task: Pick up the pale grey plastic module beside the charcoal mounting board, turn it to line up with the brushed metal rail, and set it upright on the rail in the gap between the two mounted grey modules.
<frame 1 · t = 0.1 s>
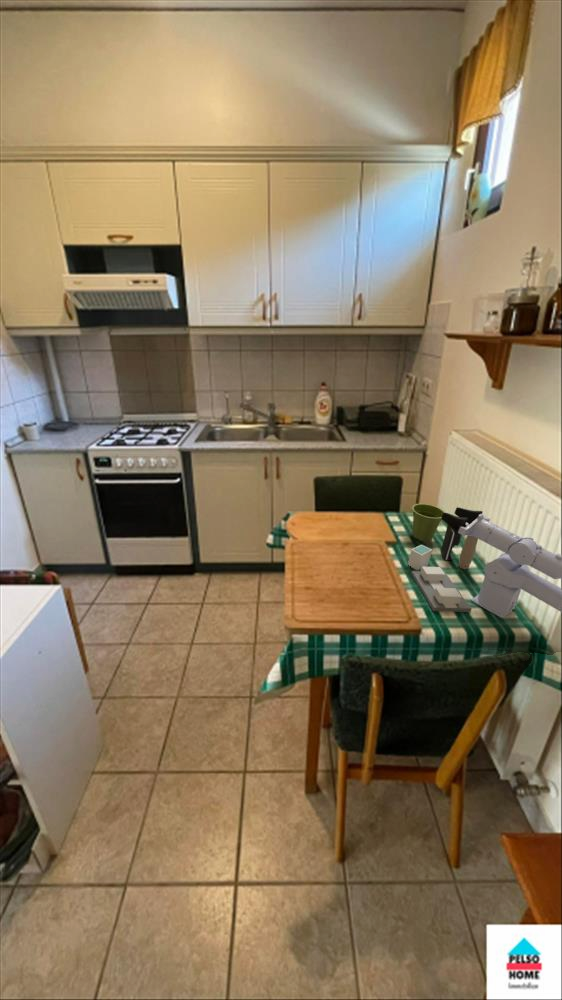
hand: (449, 512, 128), 22 cm above the table, tool horizontal, fingers open, 7 cm apart
board: (439, 591, 127), on the table
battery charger: (447, 556, 147), on the table
module: (417, 565, 140), on the table
plant pot: (421, 537, 158), on the table
handle: (463, 567, 141), on the table
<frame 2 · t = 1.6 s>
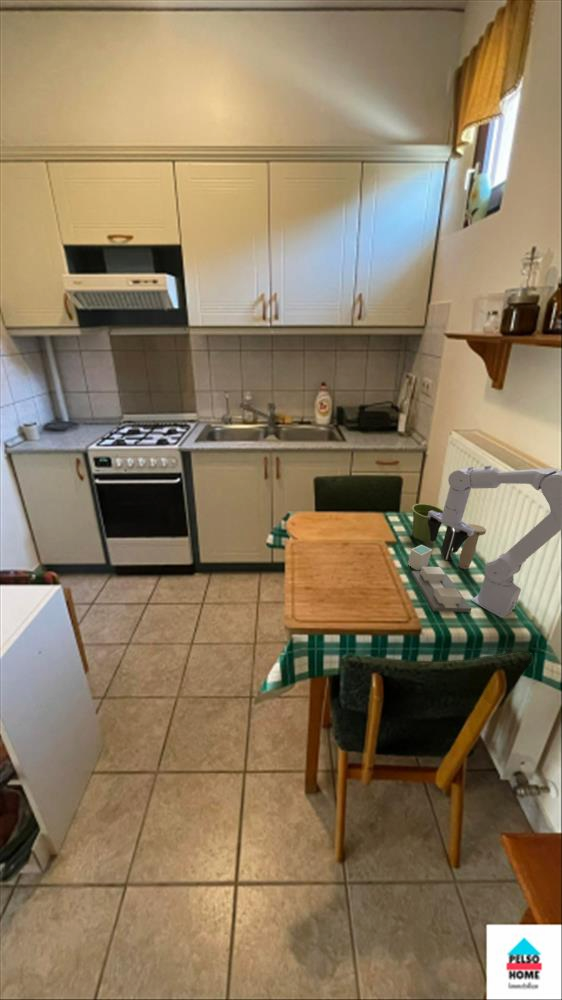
hand: (443, 546, 132), 10 cm above the table, tool pointing down, fingers open, 7 cm apart
nothing on the table moved.
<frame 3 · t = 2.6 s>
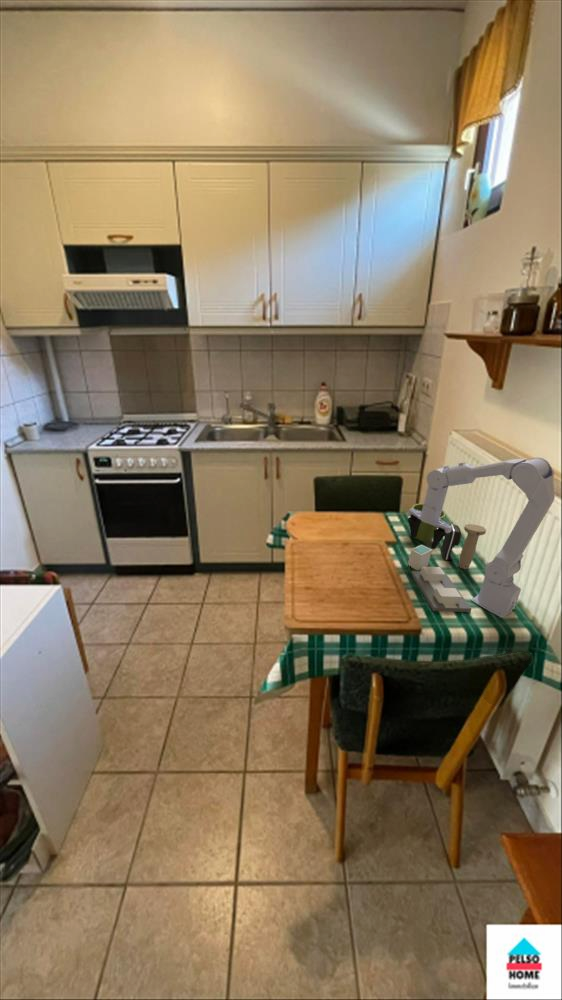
hand: (423, 542, 137), 8 cm above the table, tool pointing down, fingers open, 7 cm apart
nothing on the table moved.
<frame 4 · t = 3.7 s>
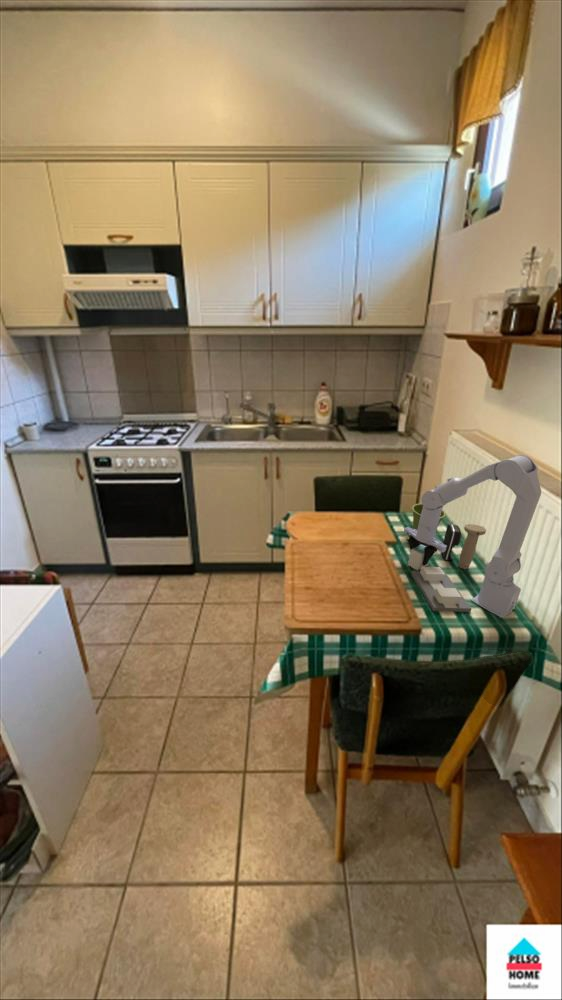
hand: (418, 560, 139), 2 cm above the table, tool pointing down, fingers closed on module, 4 cm apart
module: (417, 565, 140), on the table, touching gripper
everything else where it was.
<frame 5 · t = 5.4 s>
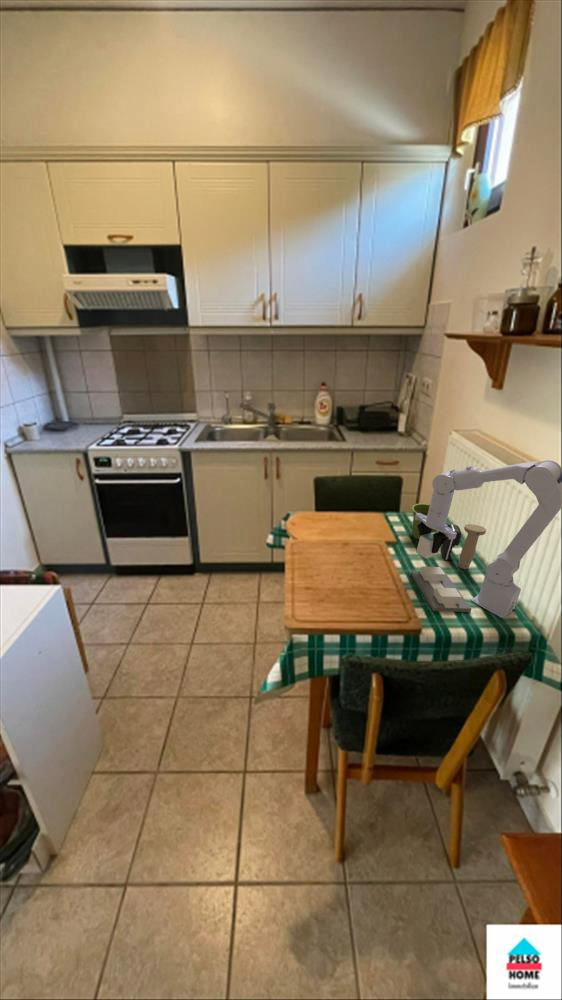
hand: (428, 548, 133), 9 cm above the table, tool pointing down, fingers closed on module, 4 cm apart
module: (427, 553, 134), point 7 cm above the table, touching gripper
everything else where it was.
when the fingers open (5 cm above the table, at t = 7.2 s): module drops 2 cm, resting on board.
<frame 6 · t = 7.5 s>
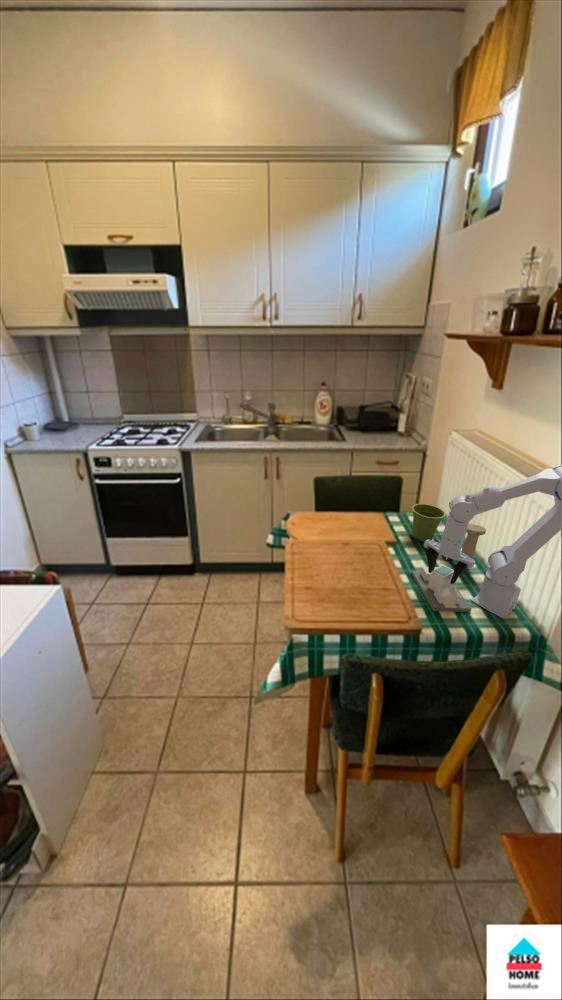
hand: (441, 577, 125), 5 cm above the table, tool pointing down, fingers open, 6 cm apart
module: (438, 587, 126), point 1 cm above the table, touching board
everything else where it was.
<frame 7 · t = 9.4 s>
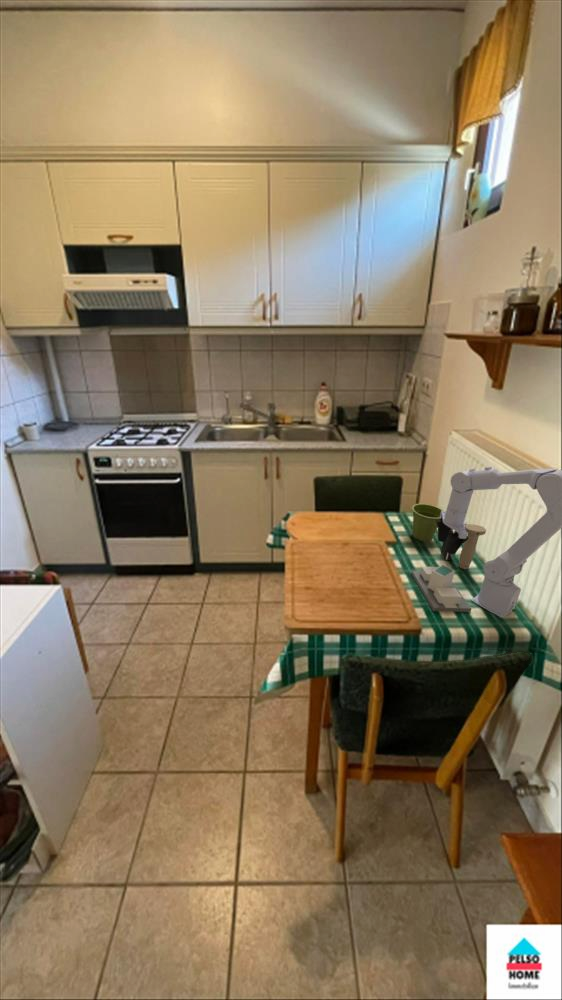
hand: (446, 547, 133), 9 cm above the table, tool pointing down, fingers open, 7 cm apart
nothing on the table moved.
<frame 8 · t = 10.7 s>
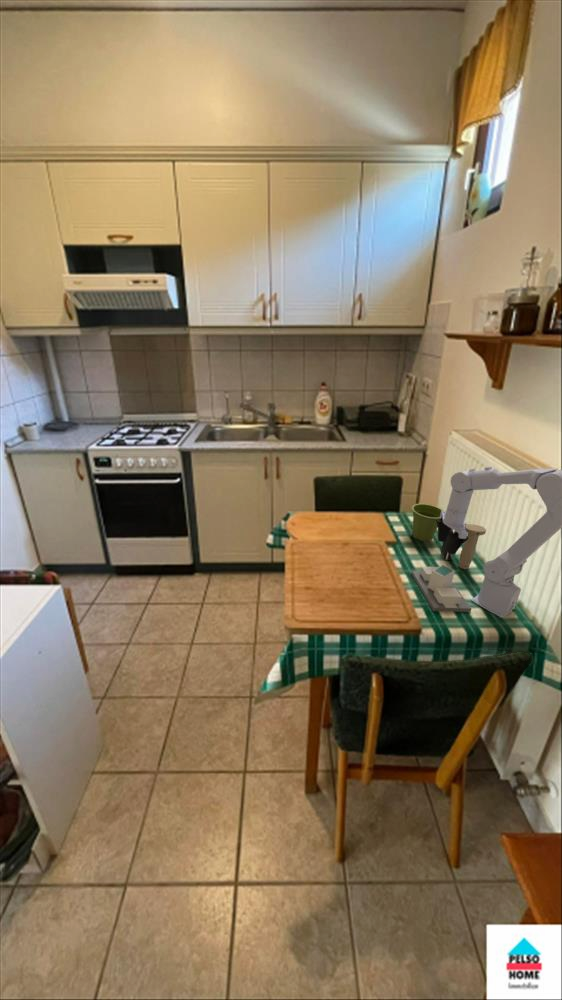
hand: (446, 547, 133), 9 cm above the table, tool pointing down, fingers open, 7 cm apart
nothing on the table moved.
at the end: module 0.1 cm off-centre on the board, point 1.5 cm above the board's base; module tilted 0°; the gripper is holding nothing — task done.
